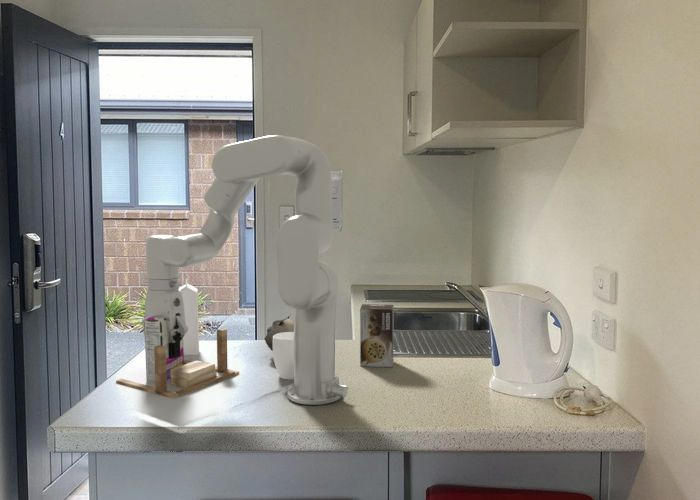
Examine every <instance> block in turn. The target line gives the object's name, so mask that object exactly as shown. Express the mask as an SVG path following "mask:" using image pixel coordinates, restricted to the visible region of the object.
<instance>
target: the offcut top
mask: <svg viewBox="0 0 700 500" xmlns="http://www.w3.org/2000/svg"><path fill="white" fill-rule="evenodd" d="M215 366H216V363H212V362H207V361H200V360H193V362H191V363H188V364H184V365H182V366H179V367H176V368H173V369H171V377H174V378H179V379H184V380H188V381H190V380H193V379H195V378H198V377H201V376H203V375H206V374H209V373H211V372H214V371H215ZM215 372H216V371H215Z"/></svg>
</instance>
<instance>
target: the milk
mask: <svg viewBox="0 0 700 500" xmlns="http://www.w3.org/2000/svg"><path fill="white" fill-rule="evenodd" d="M179 290H180V291H181V293H182V297H183V303H184V312H185V325H186V326H187V328H188V331H187V332H186V333H185V335H184V337H183V351H184V357H186V356H195V355H196V356H199V354H200V334H199V333H200V329H199V327H200V326H199V322H200V321H199V289H198V288H197V287H195V286H193V285H192V284H189V283H188V278H186V279H185V284H184V285H183V284H182V286H179Z"/></svg>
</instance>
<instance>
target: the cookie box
mask: <svg viewBox="0 0 700 500" xmlns="http://www.w3.org/2000/svg"><path fill="white" fill-rule="evenodd" d="M359 331H360V332H359V334H360V336H359V338H360V339H359V342H360V343H359V344H360V346H359V347H360V349H359V358H360V361H359V362H360V363H359V367H373V368H374V367H379V368H380V367H382V368H385V367H386V368H393V367H394V304H377V303H375V304H373V303H372V304H368V303H367V304H366V303H364V304H363V303H362V304H361V306H360V308H359Z"/></svg>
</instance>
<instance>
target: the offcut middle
mask: <svg viewBox="0 0 700 500" xmlns="http://www.w3.org/2000/svg"><path fill="white" fill-rule="evenodd" d="M217 373H218V372H217V371H214V372H211V373H209V374H206V375H203V376H201V377H198V378H195V379H193V380H190V381H188V380H184V379H179V378H174V377H171V378H170V384H175V385H178V386H181V387H180V388H182V387H184V388H186V387H189V386H191V385H194V384H197V383H200V382H202V381H205V380H208V379H211V378H213V377H216V376H218V375H217ZM178 386H177V387H178Z"/></svg>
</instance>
